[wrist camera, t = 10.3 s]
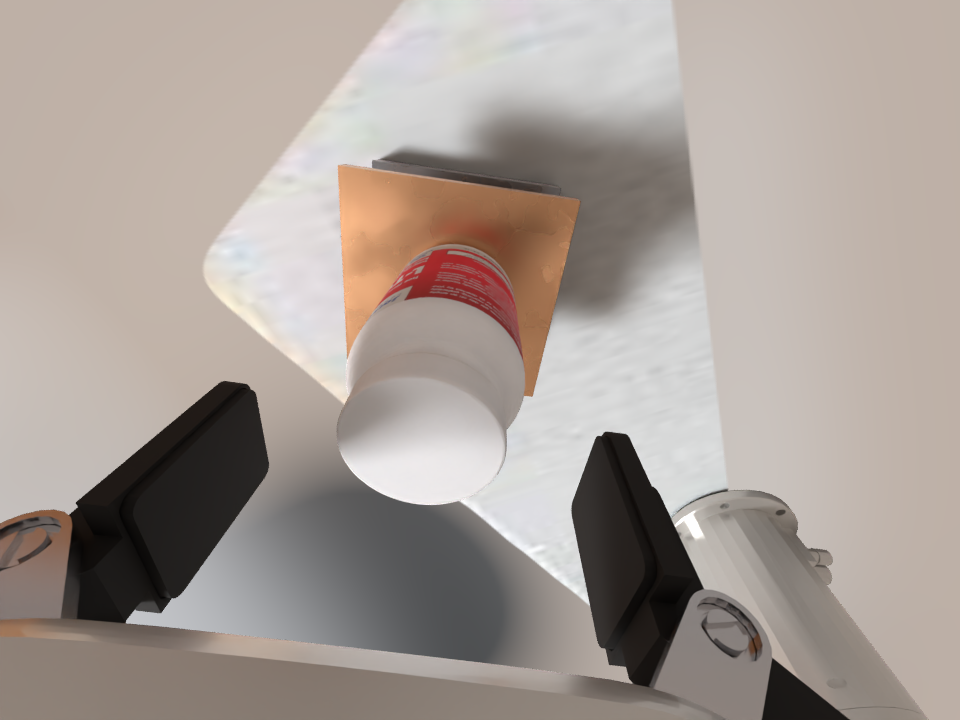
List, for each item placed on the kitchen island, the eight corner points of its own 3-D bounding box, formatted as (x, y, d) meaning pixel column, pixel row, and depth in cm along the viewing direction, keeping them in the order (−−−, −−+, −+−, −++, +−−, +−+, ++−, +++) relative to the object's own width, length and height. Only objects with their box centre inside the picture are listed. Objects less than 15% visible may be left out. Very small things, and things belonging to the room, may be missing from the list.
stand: (556, 185, 24) (580, 201, 17) (523, 341, 29) (532, 396, 23) (379, 159, 23) (337, 165, 17) (379, 323, 29) (348, 373, 22)
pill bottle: (422, 218, 18) (342, 304, 8) (536, 275, 19) (581, 408, 9) (381, 325, 21) (284, 483, 11) (481, 369, 22) (474, 545, 12)
